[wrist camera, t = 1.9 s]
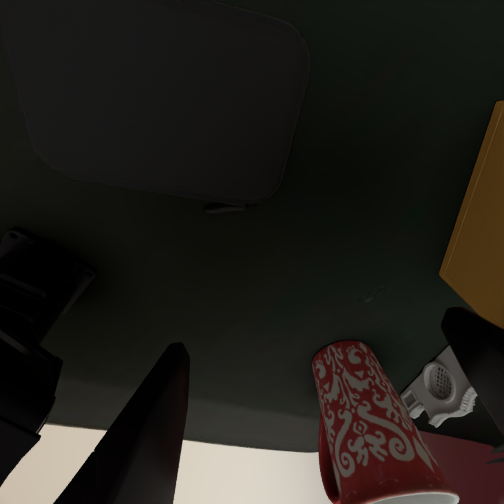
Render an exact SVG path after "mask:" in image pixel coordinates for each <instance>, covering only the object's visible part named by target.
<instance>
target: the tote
mask: <svg viewBox="0 0 504 504" xmlns="http://www.w3.org/2000/svg"><path fill="white" fill-rule="evenodd" d="M439 275H440V276H441V277H442V278H443V279H444V280H445V281H446V282H447V283H448V284H449V285H450V286H451V287H452V288H453V289H454V290H455V291H456V292H457V293H458V294H459V295H460V296H461V297H462V298H463V299H464V300H465V301H466V302H467V303H468V304H469V305H470V306H471V307H472V308H473V309H474V310H475V311H476V312H477V313H478V314H479V315H480V316H481V317H483V318H484V319H486V320H488V321H490V322H492V323H494V324H495V325H497V326H499V327H501V328H503V329H504V101H498V102H496V104H495V107H494V110H493V113H492V116H491V119H490V122H489V125H488V128H487V131H486V134H485V137H484V140H483V143H482V146H481V149H480V152H479V155H478V158H477V161H476V164H475V167H474V170H473V173H472V176H471V179H470V182H469V185H468V188H467V191H466V194H465V197H464V200H463V203H462V206H461V209H460V212H459V215H458V218H457V221H456V224H455V227H454V230H453V233H452V236H451V239H450V242H449V245H448V248H447V251H446V254H445V257H444V260H443V263H442V266H441V269H440V272H439Z"/></svg>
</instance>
